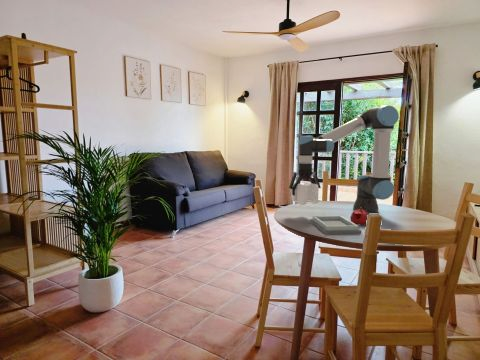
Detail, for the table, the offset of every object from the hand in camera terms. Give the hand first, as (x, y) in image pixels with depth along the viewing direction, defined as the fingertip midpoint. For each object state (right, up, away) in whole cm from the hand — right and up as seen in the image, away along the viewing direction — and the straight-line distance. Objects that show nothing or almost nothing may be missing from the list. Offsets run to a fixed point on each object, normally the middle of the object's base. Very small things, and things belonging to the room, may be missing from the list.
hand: (304, 200), depth 179 cm
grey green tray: (+11, -13, -20) cm, 26 cm away
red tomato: (+27, -12, -12) cm, 32 cm away
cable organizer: (0, -2, 0) cm, 2 cm away
